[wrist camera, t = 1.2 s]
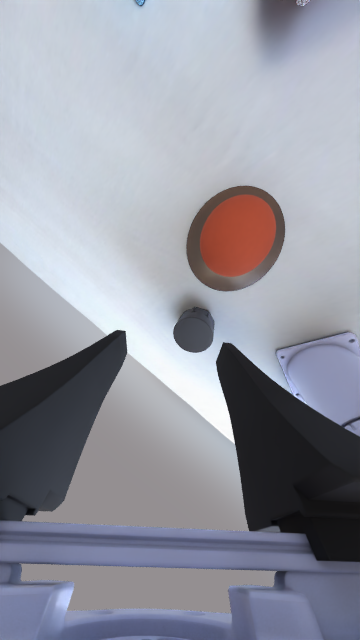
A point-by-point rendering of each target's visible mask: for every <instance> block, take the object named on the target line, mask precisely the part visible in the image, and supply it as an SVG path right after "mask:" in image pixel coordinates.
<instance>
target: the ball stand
mask: <svg viewBox="0 0 360 640" xmlns="http://www.w3.org/2000/svg"><path fill="white" fill-rule="evenodd" d="M238 195H254V196H257V197H259V198H261V199H263V200H264V201H265V202H266V203H267V204H268V205H269V206H270V208H271V209H272V211H273V213H274V216H275V221H276V234H275V239H274V242H273V245H272V247H271V250H270V251H269V253H268V255H267V256H266V257H265V259H264V260H263V261H262V262H261V263H260V264H259V265H258V266H257V267H256V268H254V269H253V270H251V271H250V272H248V273H246V274H243V275H240V276H235V277H226V276H221V275H218V274H216V273H214V272H213V271H212V270H210V269H209V268H208V266H207V265H206V264H205V262H204V260H203V258H202V255H201V251H200V237H201V232H202V229H203V226H204V224H205V222H206V220H207V218H208V217H209V215H210V214H211V212H212V211H213V210H214V209H215V208H216V207H217V206H218V205H219V204H221V203H222V202H224V201H225V200H227V199H229V198H231V197H234V196H238ZM284 237H285V222H284V217H283V213H282V211H281V208H280V206H279V205H278V203H277V202H276V200H275V199H274V198H273V197H272V196H271V195H270V194H268V193H267V192H266V191H264V190H262V189H259V188H256V187H252V186H237V187H232V188H229V189H226V190H224V191H222V192H220V193H218V194H217V195H215V196H214V197H212V198H211V199H210V200H209V201H208V202H207V203H205V205H204V206H203V207H202V208H201V209H200V211H199V212H198V213H197V215H196V217H195V218H194V220H193V222H192V225H191V227H190V230H189V234H188V238H187V257H188V261H189V265H190V267H191V270H192V271H193V273H194V275H195V276H196V277H197V278H198V279H199V280H200V281H201V282H202V283H203V284H205V285H206V286H208V287H210V288H212V289H215V290H219V291H235V290H239V289H243V288H245V287H248V286H250V285H252V284H254V283H255V282H257V281H258V280H259V279H261V278H262V277H263V276H264V275H265V274H266V273H267V272H268V271H269V270H270V269H271V267H272V266H273V265H274V263H275V261H276V260H277V258H278V256H279V254H280V252H281V249H282V246H283V242H284Z"/></svg>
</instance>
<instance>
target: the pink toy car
mask: <svg viewBox="0 0 360 640" xmlns="http://www.w3.org/2000/svg"><path fill="white" fill-rule="evenodd" d="M310 1H311V0H297V1H296V3H297V5H300V6H301V5H302V6H304V5H306V4H307V3H308V2H310Z"/></svg>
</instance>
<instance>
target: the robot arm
mask: <svg viewBox="0 0 360 640" xmlns="http://www.w3.org/2000/svg"><path fill="white" fill-rule="evenodd" d="M350 339H352V340H351V341H349V340H350ZM126 354H127V344H126V331H121V330H116V331H114V332H113V333H111V334H109V335H108V336H106V337H104V338H103V339H101V340H99V341H98V342H96V343H94V344H93V345H91V346H90V347H87V348H85V349H84V350H82V351H80V352H78V353H76V354H75V355H73V356H71V357H69V358H67V359H65V360H63V361H60V362H58V363H56V364H54V365H52V366H50V367H47V368H45V369H43V370H40V371H38V372H35V373H33V374H30V375H28V376H25V377H23V378H20V379H18V380H15V381H13V382H10V383H7V384H4V385H2V386H0V640H360V348H359V344H358V340H357V336H356V334H354V333H352V332H347V333H343V334H339V335H335V336H331V337H327V338H323V339H320V340H316V341H312V342H308V343H304V344H300V345H296V346H292V347H288V348H284V349H281V350H277V351H276V355H277V358H278V360H279V362H280V365H281V367H282V370H283V372H284V374H285V377H286V379H287V381H288V384H289V386H290V389H291V391H292V393H293V395H292V394H290V393H289V392H288V391H286V390H285V389H284V388H282V387H281V386H280V385H278V384H277V383H276V382H274V381H273V380H272V379H271V378H269V377H268V376H267V375H266V374H265V373H263V372H262V371H261V370H260V369H259V368H258V367H257V366H255V365H254V364H253V363H252V362H251V361H250V360H249V359H248V358H247V357H246V356H245V355H243V354H242V353H241V352H240V351H239V350H238V349H237V348H236V347H235V346H234V345H233V344H231V343H224V342H223V344H222V347H221V350H220V353H219V355H218V358H217V361H216V365H217V372H218V377H219V380H220V383H221V387H222V390H223V393H224V397H225V400H226V403H227V407H228V411H229V415H230V419H231V424H232V429H233V435H234V440H235V446H236V451H237V457H238V464H239V470H240V477H241V484H242V492H243V499H244V507H245V515H246V520H247V524H248V528H249V531H228V530H207V529H184V528H162V527H139V526H116V525H94V524H93V525H92V524H71V523H49V522H26V521H22V519H23V518H24V516H25V515H36V513H37V512H38V511H53V510H55V509H56V508H57V507H58V506H59V505H60V504H61V503H62V502H63V501H64V499H65V496H66V493H67V490H68V488H69V485H70V482H71V480H72V477H73V474H74V471H75V469H76V466H77V463H78V461H79V458H80V456H81V453H82V450H83V448H84V445H85V443H86V440H87V437H88V435H89V433H90V430H91V428H92V425H93V423H94V421H95V418H96V416H97V414H98V411H99V409H100V407H101V404H102V402H103V400H104V398H105V396H106V394H107V392H108V391H109V389H110V387H111V385H112V383H113V381H114V380H115V378H116V376H117V374H118V372H119V370H120V369H121V367H122V365H123V362H124V360H125V357H126ZM280 356H283V357H280ZM302 401H305V402H306V403H307V404H305V403H304V402H302ZM19 563H26V564H60V565H61V564H62V565H94V566H95V565H96V566H128V567H164V568H197V569H198V568H199V569H231V570H267V571H269V570H270V571H277V572H276V573H275V578H274V579H275V583H274V586H273V587H266V586H258V585H236V586H229V589H228V592H229V599H230V607H231V613H230V614H229V613H216V612H202V611H187V610H172V609H104V610H81V611H67V608H68V605H69V602H70V598H71V595H72V592H73V589H74V582H69V581H58V580H35V581H21V580H20V578H21V572H22V567H21V564H19Z"/></svg>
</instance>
